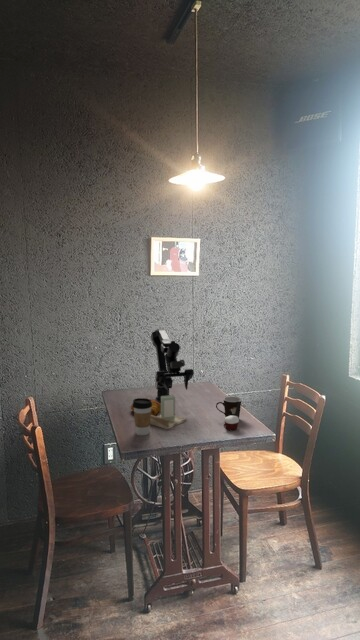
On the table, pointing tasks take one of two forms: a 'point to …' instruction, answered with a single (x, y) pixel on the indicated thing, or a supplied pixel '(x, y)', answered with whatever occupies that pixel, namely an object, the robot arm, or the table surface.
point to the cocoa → (232, 420)
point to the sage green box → (168, 407)
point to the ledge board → (166, 421)
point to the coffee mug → (230, 406)
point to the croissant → (154, 409)
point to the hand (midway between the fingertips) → (177, 390)
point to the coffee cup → (142, 415)
